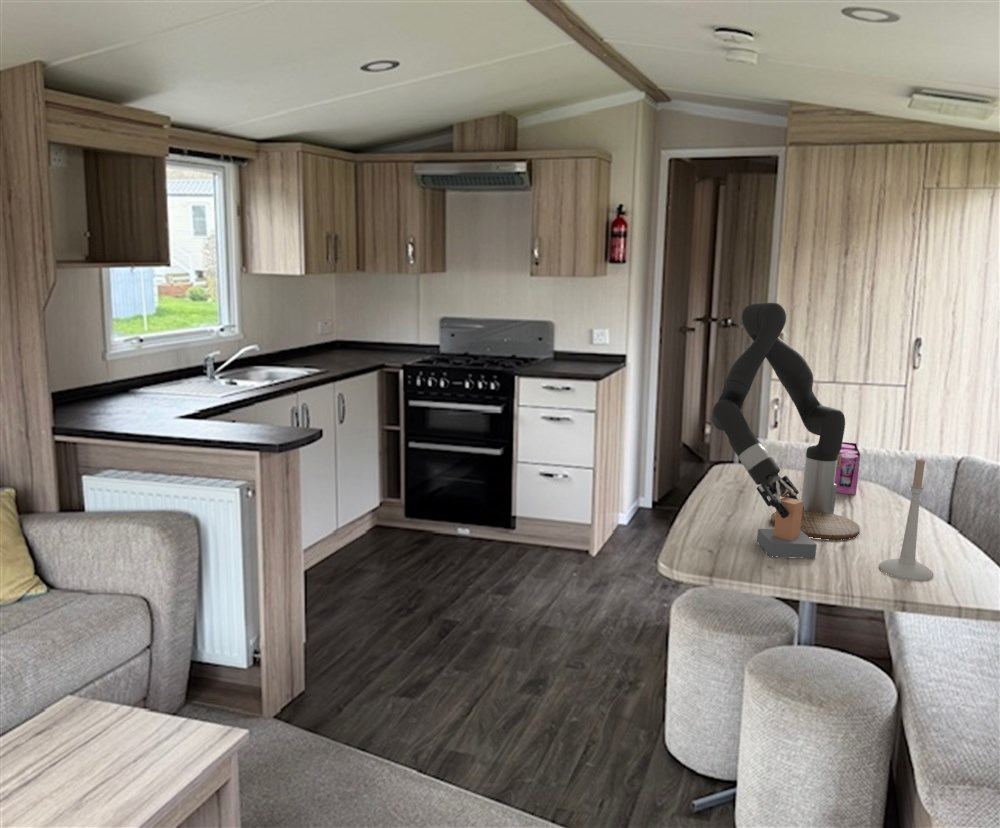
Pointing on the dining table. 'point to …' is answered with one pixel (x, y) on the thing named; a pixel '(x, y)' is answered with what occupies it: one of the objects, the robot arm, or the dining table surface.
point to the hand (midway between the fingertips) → (794, 513)
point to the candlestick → (910, 538)
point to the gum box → (847, 468)
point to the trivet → (826, 525)
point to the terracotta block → (789, 519)
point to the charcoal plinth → (786, 545)
